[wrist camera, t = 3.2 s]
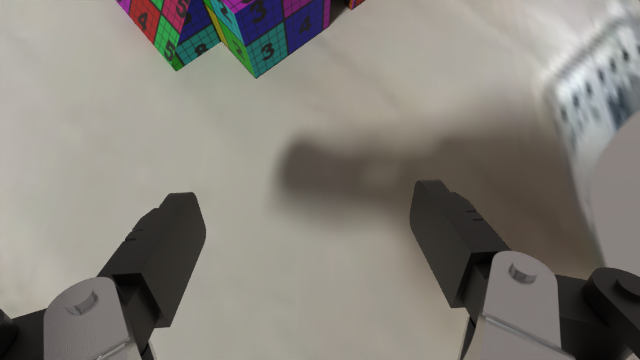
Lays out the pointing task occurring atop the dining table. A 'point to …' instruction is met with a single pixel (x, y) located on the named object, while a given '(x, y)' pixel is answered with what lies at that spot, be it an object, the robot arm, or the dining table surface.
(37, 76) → the dining table surface
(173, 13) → the building blocks
